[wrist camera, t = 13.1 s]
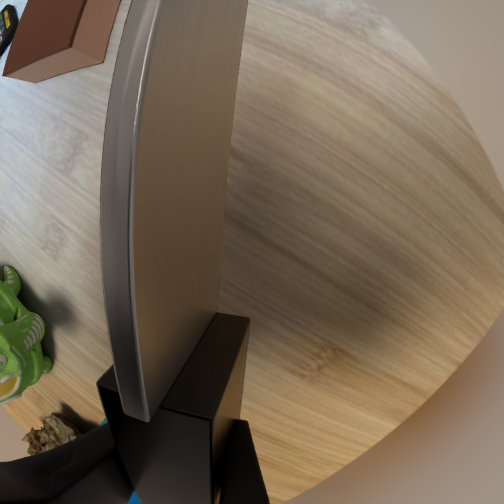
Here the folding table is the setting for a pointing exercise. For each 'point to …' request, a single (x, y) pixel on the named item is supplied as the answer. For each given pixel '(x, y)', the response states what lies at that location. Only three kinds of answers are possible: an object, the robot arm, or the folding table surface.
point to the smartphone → (7, 25)
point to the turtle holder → (18, 341)
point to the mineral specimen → (51, 434)
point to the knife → (171, 248)
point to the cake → (59, 37)
